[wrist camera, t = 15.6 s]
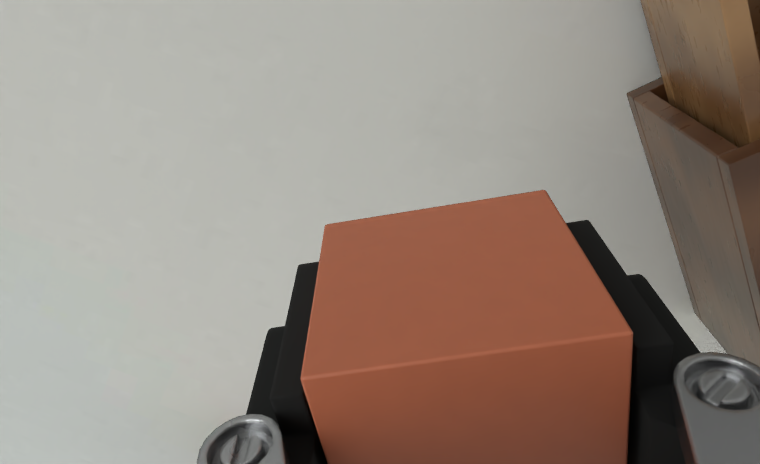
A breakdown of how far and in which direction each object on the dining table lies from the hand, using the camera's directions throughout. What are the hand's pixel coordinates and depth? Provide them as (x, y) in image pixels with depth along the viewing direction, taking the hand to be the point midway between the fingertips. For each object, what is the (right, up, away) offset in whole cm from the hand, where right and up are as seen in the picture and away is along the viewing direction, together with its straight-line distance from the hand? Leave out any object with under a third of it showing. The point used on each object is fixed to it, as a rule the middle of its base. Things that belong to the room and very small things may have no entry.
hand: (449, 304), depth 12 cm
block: (0, 0, 0) cm, 0 cm away
